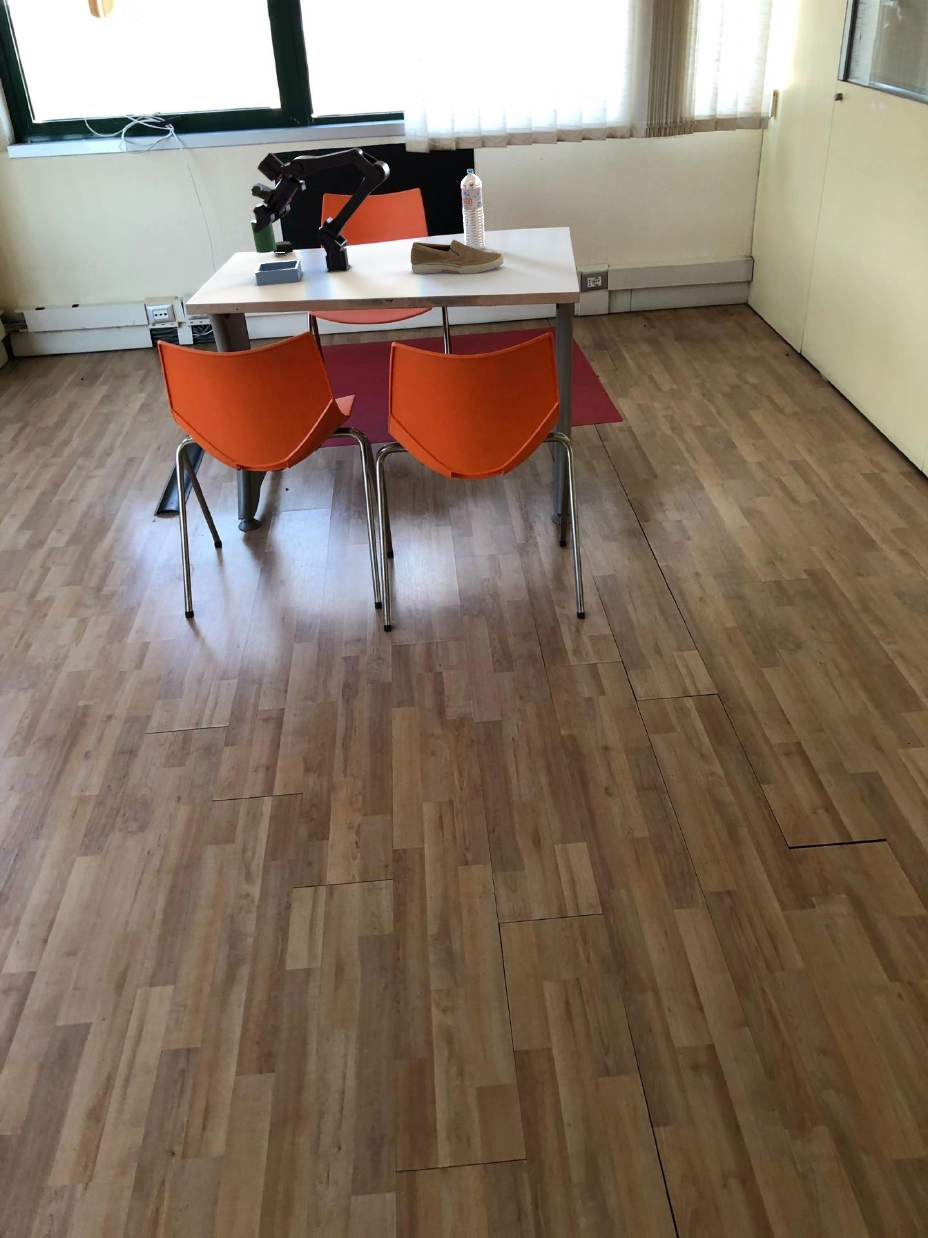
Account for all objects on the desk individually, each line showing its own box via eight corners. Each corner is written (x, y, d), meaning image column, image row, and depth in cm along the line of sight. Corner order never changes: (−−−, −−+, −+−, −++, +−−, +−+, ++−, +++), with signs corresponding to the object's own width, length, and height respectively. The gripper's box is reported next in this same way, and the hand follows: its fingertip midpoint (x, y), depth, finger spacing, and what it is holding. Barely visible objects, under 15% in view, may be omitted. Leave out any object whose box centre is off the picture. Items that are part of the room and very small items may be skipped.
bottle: (278, 247, 321) (270, 205, 314) (274, 251, 316) (266, 209, 309) (259, 248, 322) (251, 207, 315) (254, 253, 316) (246, 211, 309)
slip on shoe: (505, 263, 307) (504, 234, 303) (500, 272, 298) (498, 242, 293) (417, 266, 314) (414, 237, 309) (408, 275, 304) (405, 245, 300)
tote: (301, 272, 318) (299, 259, 316) (299, 281, 308) (296, 268, 306) (261, 275, 318) (259, 263, 316) (257, 285, 308) (255, 272, 306)
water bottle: (462, 248, 330) (456, 169, 316) (479, 245, 332) (475, 166, 319) (470, 252, 325) (465, 171, 311) (488, 248, 327) (484, 168, 313)
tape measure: (274, 256, 341) (273, 245, 339) (272, 253, 347) (270, 242, 344) (294, 254, 342) (292, 243, 340) (291, 250, 348) (289, 239, 346)
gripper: (274, 168, 313) (250, 206, 321) (252, 178, 298) (227, 218, 306) (301, 193, 316) (276, 230, 324) (281, 204, 300) (255, 242, 309)
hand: (258, 229), depth 316 cm, fingers closed on bottle, 7 cm apart
